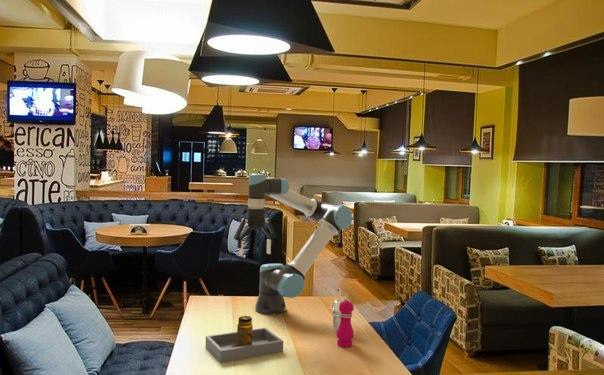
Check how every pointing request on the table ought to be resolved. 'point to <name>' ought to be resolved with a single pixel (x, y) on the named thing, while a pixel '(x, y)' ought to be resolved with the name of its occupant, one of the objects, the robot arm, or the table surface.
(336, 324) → the cup with straw
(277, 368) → the table surface
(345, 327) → the pepper mill
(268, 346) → the tray
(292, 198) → the robot arm
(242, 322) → the condiment
